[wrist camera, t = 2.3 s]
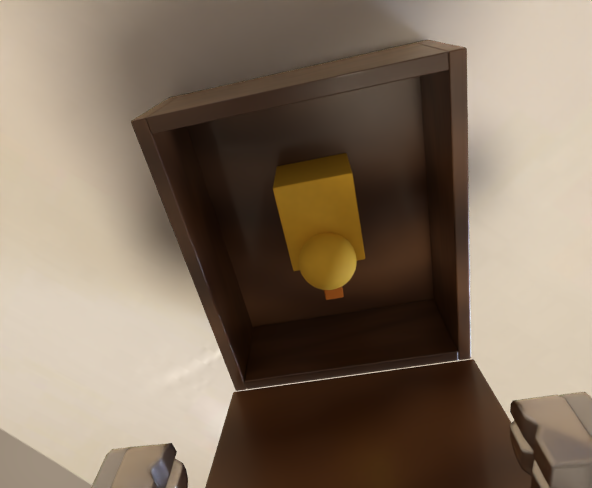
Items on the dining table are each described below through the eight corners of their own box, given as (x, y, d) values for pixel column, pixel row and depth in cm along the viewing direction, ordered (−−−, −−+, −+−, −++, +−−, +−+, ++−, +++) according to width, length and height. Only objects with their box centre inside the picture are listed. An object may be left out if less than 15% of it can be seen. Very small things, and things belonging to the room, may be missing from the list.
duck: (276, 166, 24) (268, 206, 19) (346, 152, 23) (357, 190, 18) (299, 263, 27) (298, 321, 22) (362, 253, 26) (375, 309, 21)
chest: (168, 97, 23) (129, 121, 18) (428, 39, 21) (467, 47, 16) (247, 329, 30) (235, 391, 25) (442, 299, 29) (471, 359, 24)
